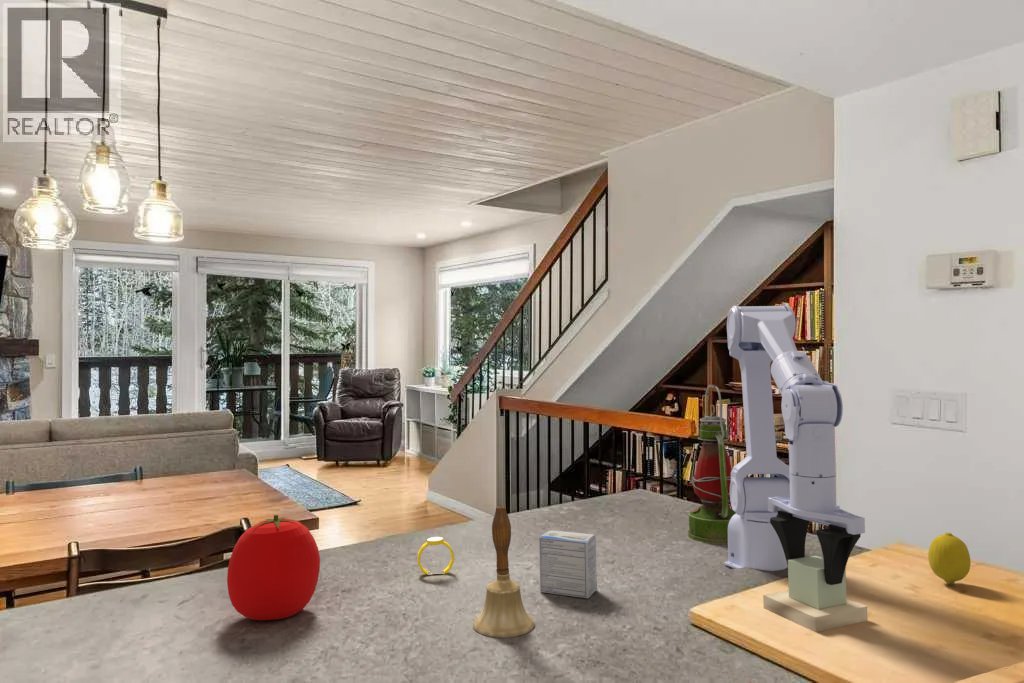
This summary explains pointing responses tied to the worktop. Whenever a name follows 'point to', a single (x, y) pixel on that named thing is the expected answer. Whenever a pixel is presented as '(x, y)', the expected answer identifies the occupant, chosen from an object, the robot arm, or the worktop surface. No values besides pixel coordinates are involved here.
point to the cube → (814, 583)
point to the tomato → (273, 569)
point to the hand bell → (503, 590)
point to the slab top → (815, 612)
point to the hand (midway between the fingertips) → (814, 576)
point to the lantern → (712, 481)
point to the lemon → (949, 558)
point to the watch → (435, 542)
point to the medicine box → (568, 563)
